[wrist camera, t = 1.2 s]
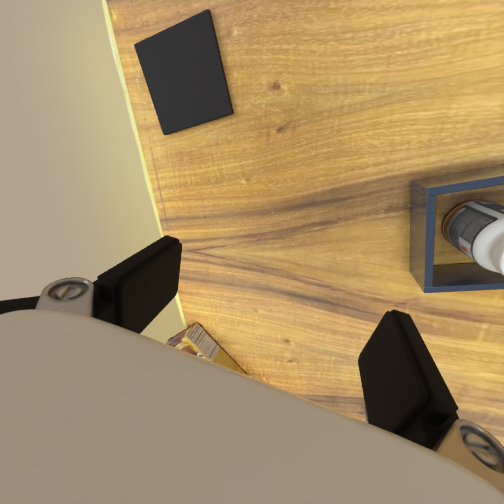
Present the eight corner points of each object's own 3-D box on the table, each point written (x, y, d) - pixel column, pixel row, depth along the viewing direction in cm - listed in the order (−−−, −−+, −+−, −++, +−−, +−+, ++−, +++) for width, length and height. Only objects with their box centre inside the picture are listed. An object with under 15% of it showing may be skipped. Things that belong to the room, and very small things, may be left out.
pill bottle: (452, 253, 30) (506, 299, 21) (432, 215, 29) (480, 248, 20) (508, 230, 28) (595, 271, 19) (489, 188, 27) (571, 211, 18)
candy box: (210, 406, 49) (157, 352, 46) (219, 386, 52) (170, 337, 50) (242, 394, 45) (185, 336, 42) (248, 375, 48) (196, 320, 46)
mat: (137, 46, 30) (133, 44, 29) (210, 11, 26) (208, 8, 26) (166, 135, 33) (163, 135, 33) (233, 113, 30) (232, 113, 29)
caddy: (410, 180, 28) (427, 188, 24) (549, 156, 24) (599, 159, 20) (410, 272, 32) (424, 293, 28) (527, 263, 29) (565, 286, 24)
